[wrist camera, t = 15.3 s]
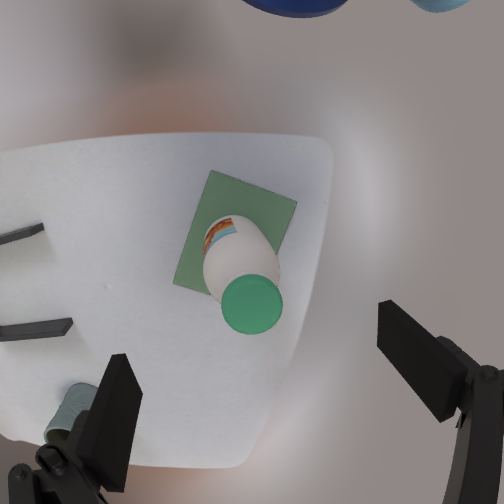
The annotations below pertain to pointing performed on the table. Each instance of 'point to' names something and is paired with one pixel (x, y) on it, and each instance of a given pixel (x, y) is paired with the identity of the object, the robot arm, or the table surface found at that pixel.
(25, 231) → the dark grey u-shaped frame
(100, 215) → the table surface
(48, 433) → the grey-green cup
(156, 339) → the table surface
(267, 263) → the milk bottle
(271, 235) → the mat
